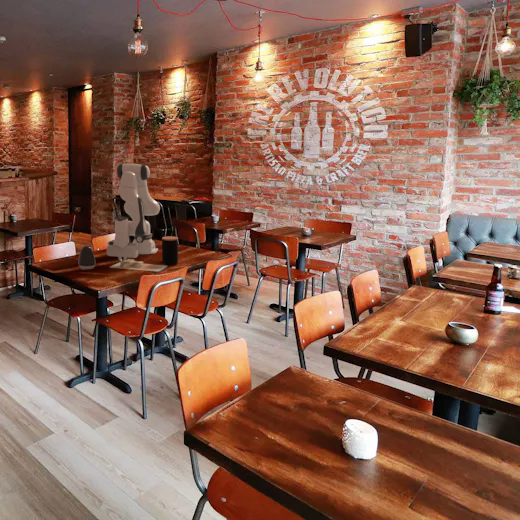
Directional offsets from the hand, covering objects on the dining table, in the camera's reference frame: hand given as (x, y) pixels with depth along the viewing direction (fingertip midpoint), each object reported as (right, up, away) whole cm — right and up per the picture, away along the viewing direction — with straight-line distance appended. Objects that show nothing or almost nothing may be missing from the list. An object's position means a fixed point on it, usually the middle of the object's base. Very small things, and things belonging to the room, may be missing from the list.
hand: (122, 263), depth 300 cm
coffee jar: (+28, -1, +14) cm, 31 cm away
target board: (+11, -3, -1) cm, 11 cm away
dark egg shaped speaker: (-19, -4, -9) cm, 22 cm away
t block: (+7, -2, -1) cm, 7 cm away
